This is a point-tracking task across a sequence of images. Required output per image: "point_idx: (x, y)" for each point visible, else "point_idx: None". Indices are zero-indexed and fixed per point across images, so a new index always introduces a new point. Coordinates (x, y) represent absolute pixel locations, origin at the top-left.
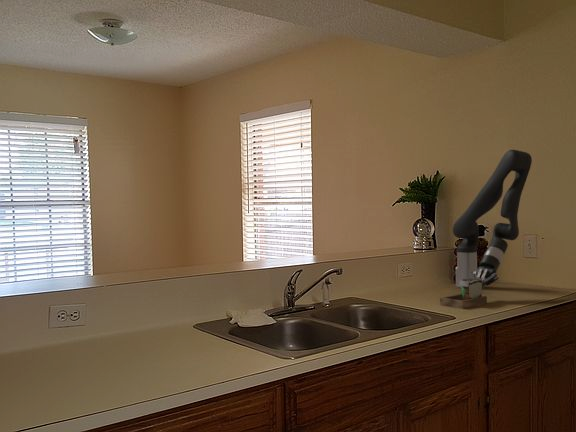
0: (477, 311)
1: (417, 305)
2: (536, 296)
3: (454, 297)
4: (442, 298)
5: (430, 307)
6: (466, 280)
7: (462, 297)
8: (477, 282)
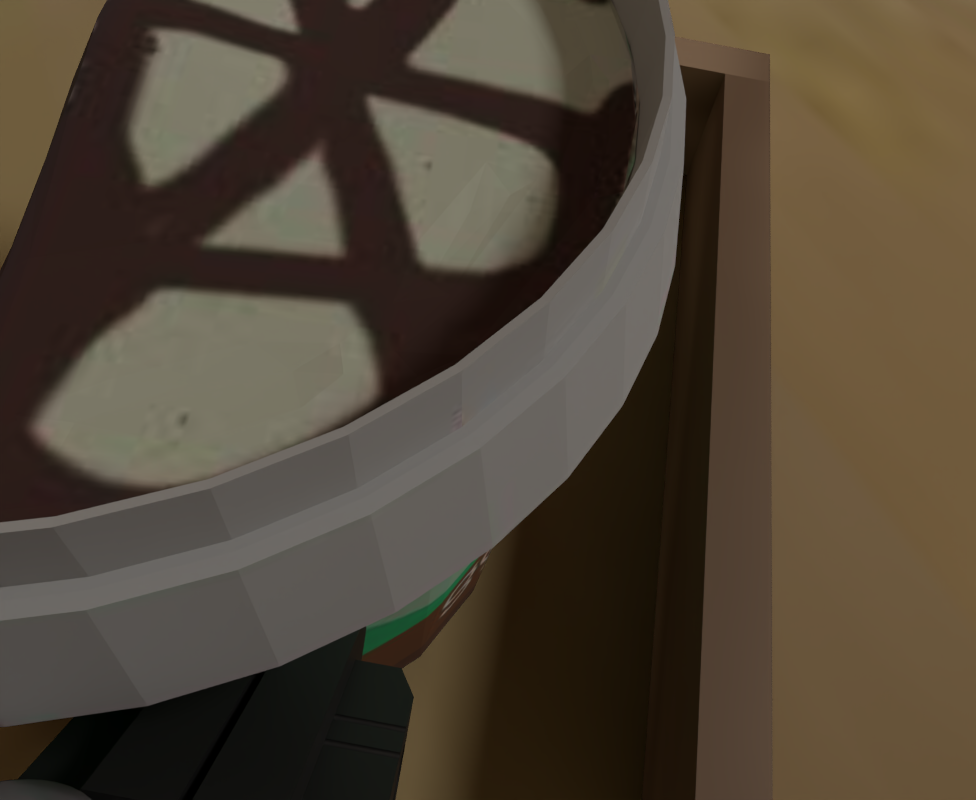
0: (66, 26)
1: (931, 39)
2: None
3: (701, 351)
4: (714, 46)
5: (722, 7)
6: (592, 224)
7: (675, 656)
8: (57, 212)
